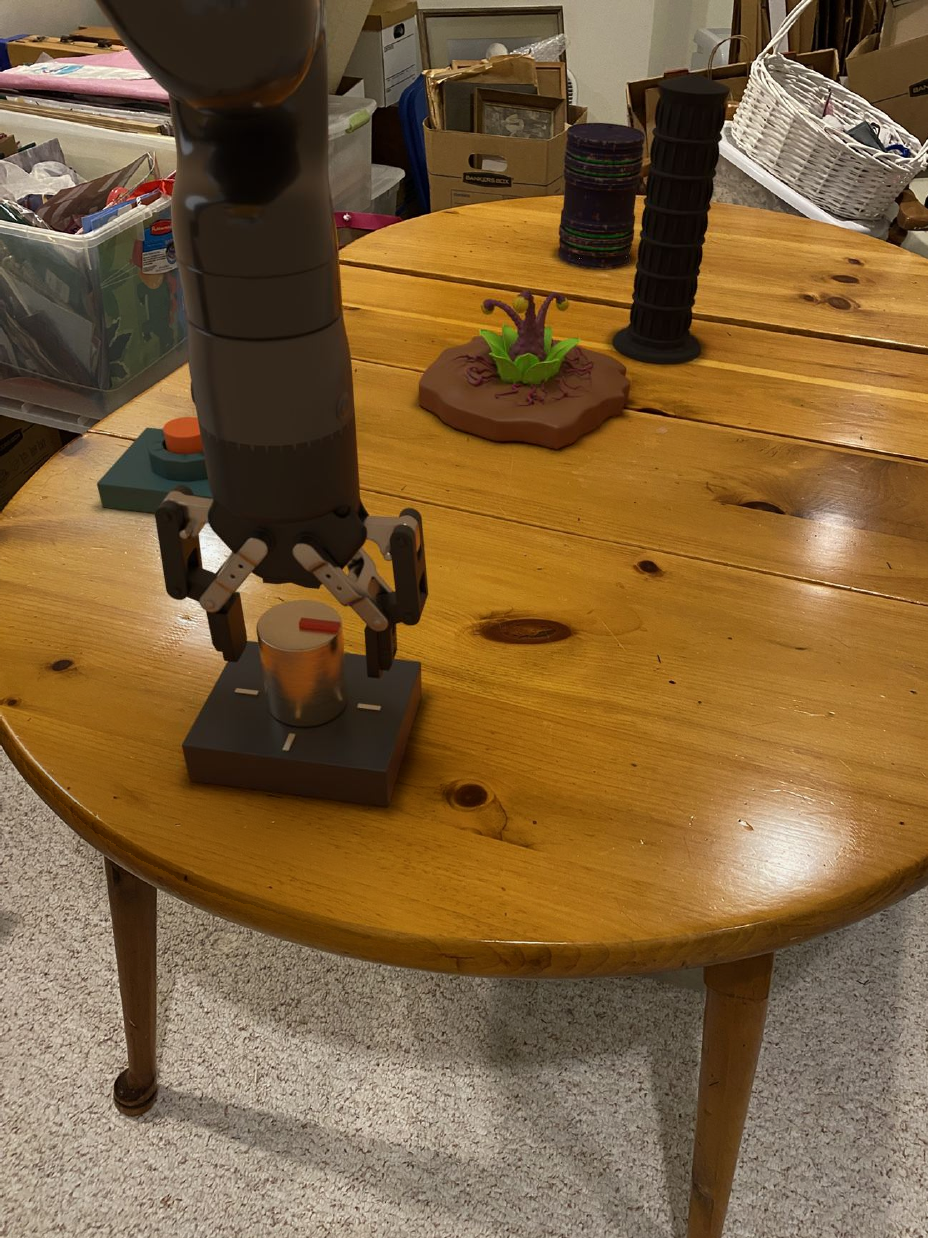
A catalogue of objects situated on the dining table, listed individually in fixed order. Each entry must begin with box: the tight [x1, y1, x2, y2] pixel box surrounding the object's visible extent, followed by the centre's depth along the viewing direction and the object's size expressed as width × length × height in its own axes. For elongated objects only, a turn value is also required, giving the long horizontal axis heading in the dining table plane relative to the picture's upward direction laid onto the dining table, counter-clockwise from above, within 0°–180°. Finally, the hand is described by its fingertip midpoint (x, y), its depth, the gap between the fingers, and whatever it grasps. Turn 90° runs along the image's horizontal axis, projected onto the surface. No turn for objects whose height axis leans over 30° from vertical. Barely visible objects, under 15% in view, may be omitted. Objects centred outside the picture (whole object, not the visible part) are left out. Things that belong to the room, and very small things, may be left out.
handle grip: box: [611, 73, 731, 365], centre depth 105 cm, size 10×26×10 cm
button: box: [162, 416, 203, 455], centre depth 83 cm, size 4×4×2 cm
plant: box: [418, 289, 631, 450], centre depth 98 cm, size 20×20×11 cm
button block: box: [96, 427, 213, 514], centre depth 85 cm, size 12×10×4 cm
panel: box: [181, 640, 422, 808], centre depth 63 cm, size 12×10×3 cm
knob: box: [255, 599, 348, 727], centre depth 60 cm, size 5×5×6 cm
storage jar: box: [557, 122, 646, 270], centre depth 131 cm, size 10×10×15 cm
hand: (306, 661), depth 60 cm, fingers open, 8 cm apart
